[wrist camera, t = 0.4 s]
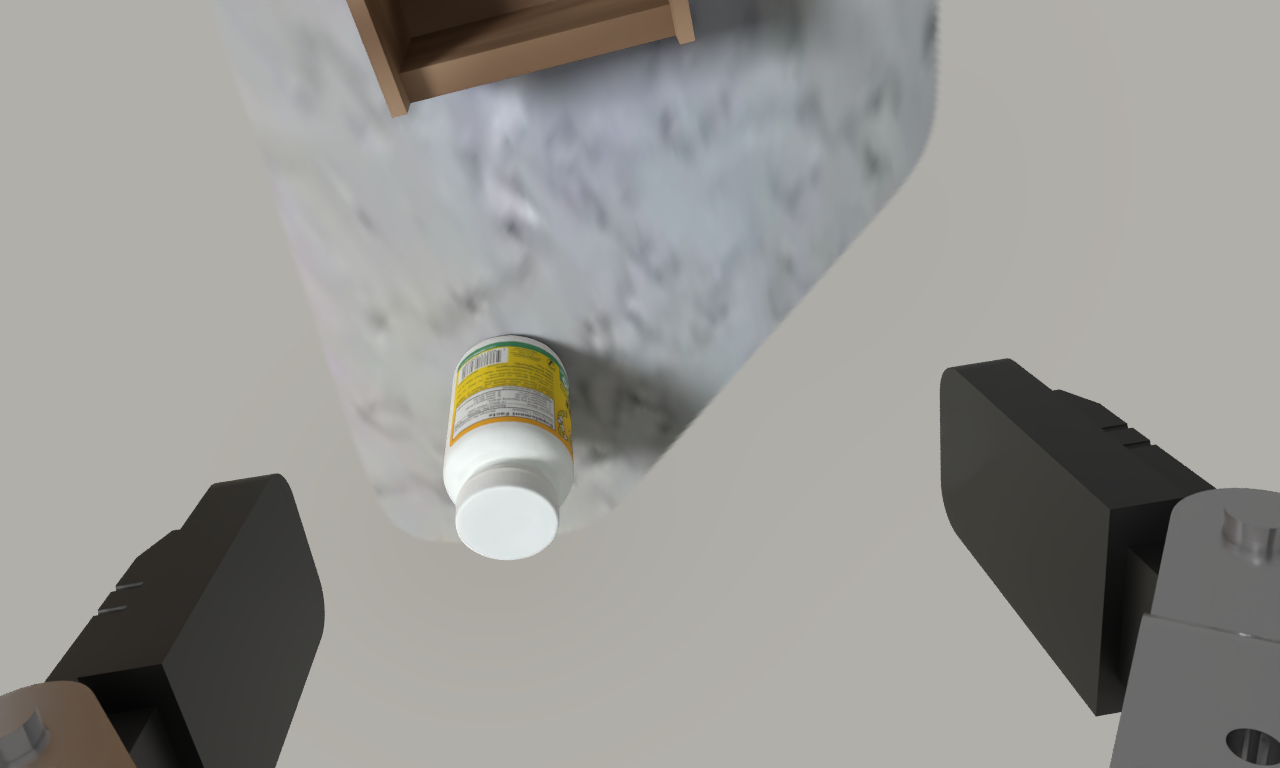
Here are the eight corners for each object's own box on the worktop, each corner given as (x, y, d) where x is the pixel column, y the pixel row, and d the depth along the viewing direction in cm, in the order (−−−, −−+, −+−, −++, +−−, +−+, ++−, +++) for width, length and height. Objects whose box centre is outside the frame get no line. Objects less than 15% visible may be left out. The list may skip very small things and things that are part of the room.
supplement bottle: (473, 317, 42) (460, 457, 34) (585, 350, 44) (598, 490, 36) (439, 408, 45) (420, 557, 37) (546, 436, 46) (550, 584, 39)
